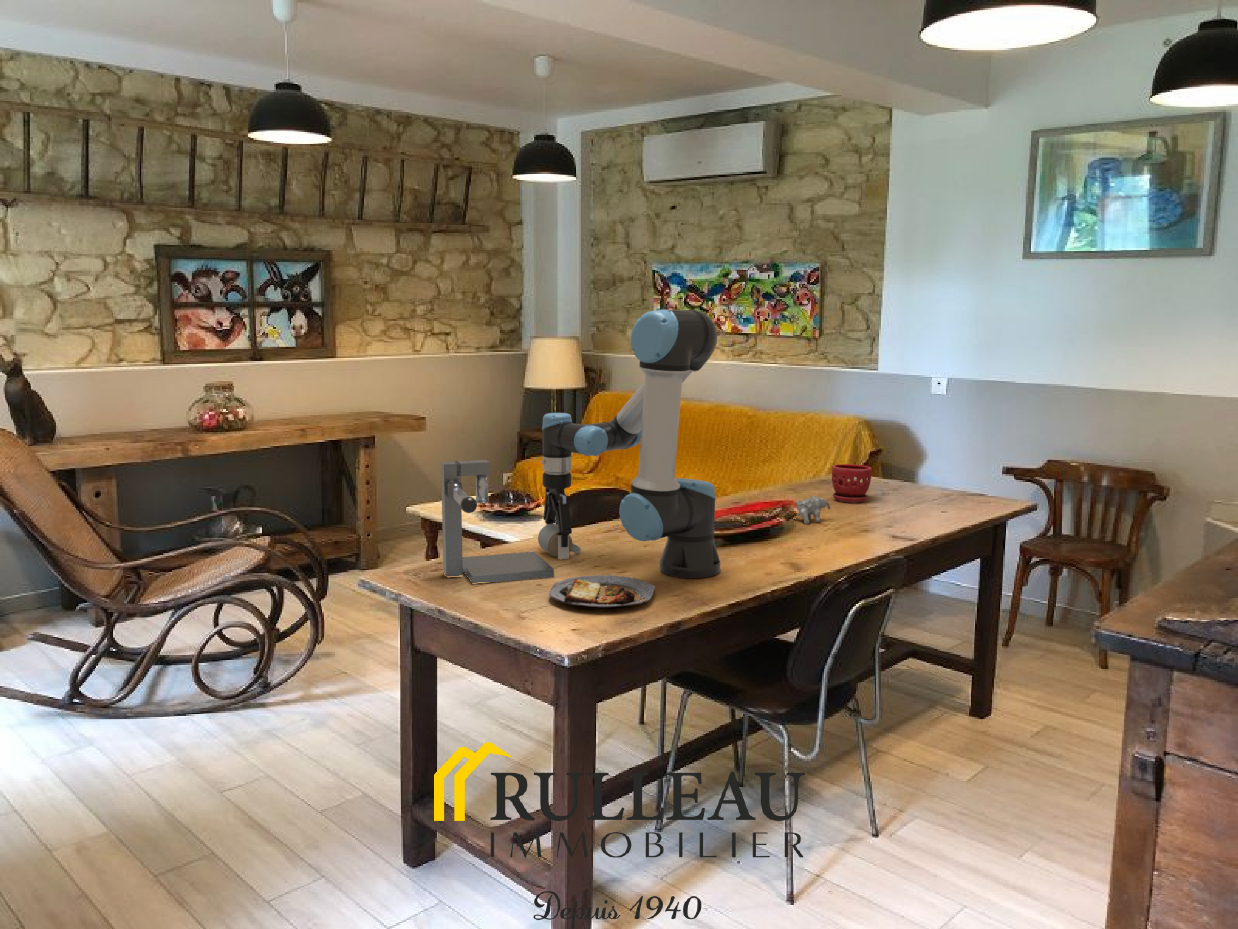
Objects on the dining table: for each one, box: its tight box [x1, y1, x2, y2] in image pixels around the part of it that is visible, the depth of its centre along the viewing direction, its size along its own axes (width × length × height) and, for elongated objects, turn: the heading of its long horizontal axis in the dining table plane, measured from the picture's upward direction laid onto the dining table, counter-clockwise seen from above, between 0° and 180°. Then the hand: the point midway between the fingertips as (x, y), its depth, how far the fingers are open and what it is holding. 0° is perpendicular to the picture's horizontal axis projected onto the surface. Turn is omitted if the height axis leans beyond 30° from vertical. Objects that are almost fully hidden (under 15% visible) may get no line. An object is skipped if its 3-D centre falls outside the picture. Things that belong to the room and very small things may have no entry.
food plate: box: [548, 574, 657, 609], centre depth 220 cm, size 25×23×4 cm
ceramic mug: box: [537, 523, 582, 558], centre depth 257 cm, size 11×8×8 cm
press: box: [440, 459, 555, 584], centre depth 238 cm, size 18×25×28 cm
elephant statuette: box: [795, 494, 831, 525], centre depth 299 cm, size 9×12×8 cm
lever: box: [447, 481, 478, 514], centre depth 221 cm, size 21×4×4 cm, turn 20°
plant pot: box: [831, 463, 873, 504], centre depth 330 cm, size 13×13×12 cm
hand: (557, 553), depth 258 cm, fingers open, 11 cm apart
